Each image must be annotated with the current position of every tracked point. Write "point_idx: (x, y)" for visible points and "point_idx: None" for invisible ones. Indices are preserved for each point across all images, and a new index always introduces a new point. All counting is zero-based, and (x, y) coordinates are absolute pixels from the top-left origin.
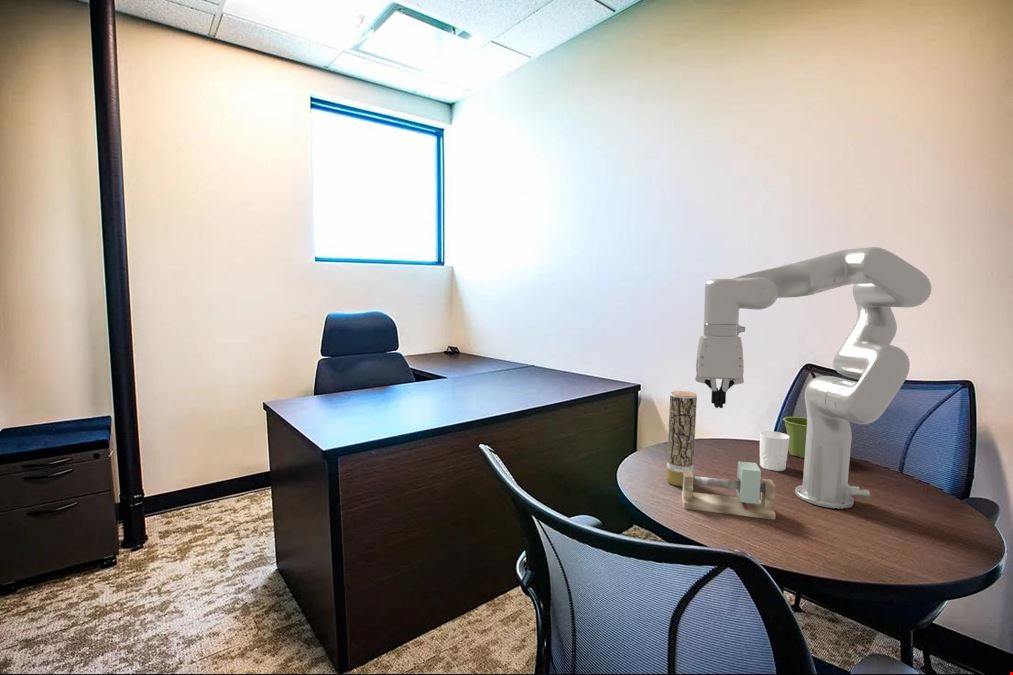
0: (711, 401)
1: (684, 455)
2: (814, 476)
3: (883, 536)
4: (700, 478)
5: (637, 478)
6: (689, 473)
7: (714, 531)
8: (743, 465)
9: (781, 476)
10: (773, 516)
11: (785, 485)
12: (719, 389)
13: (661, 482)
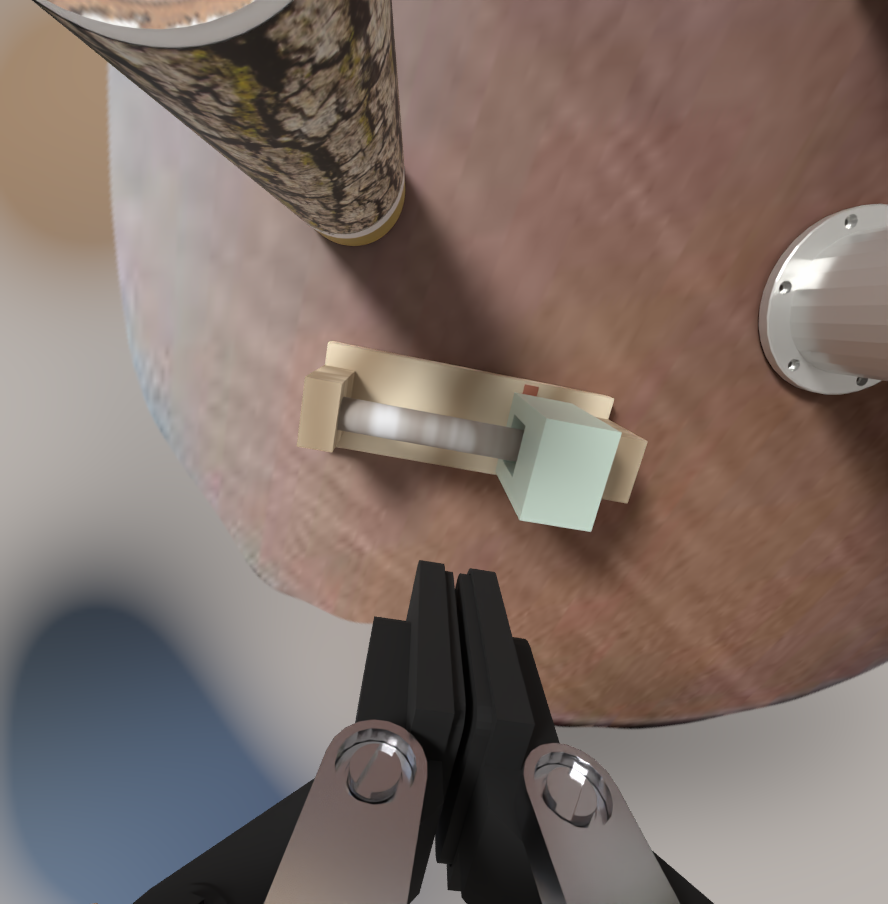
0: (373, 621)
1: (333, 223)
2: (865, 347)
3: (812, 543)
4: (367, 430)
5: (168, 152)
6: (324, 411)
7: (374, 569)
8: (546, 472)
9: (842, 60)
10: None
11: (789, 179)
12: (493, 742)
13: None
